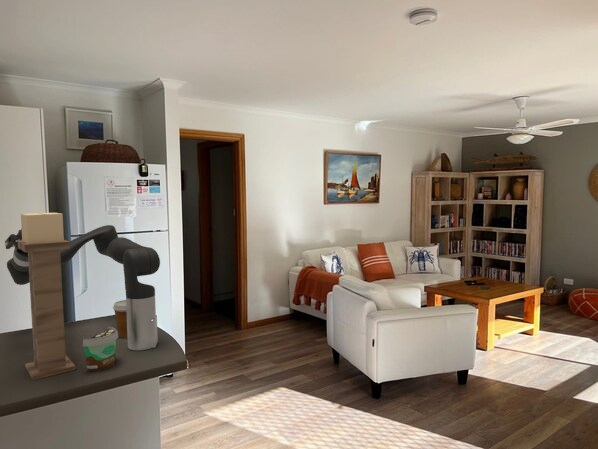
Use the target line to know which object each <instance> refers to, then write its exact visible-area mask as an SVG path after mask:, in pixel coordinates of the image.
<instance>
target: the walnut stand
mask: <svg viewBox="0 0 598 449" xmlns="http://www.w3.org/2000/svg"><path fill="white" fill-rule="evenodd" d="M17 241H18V240H17ZM18 248H19V249H21V250H22V251H24V252H28V263H29V280H30V282H29V293H30V312H31V326H32V327H31V329H32V344H33V345H32V346H33V348H32V350H33V361H31V362H26V363H24V367H25V369H26V371H27V373H28V374H29V376H30V378H31V379H32V381H34V380H39V379H43V378H47V377H50V376H55V375H59V374H64V373H66V372H71V371H75V370H76V369H77V367H76V365H75V363H74V362H73V361H72V360H71V359H70V358H69V357H68V356H67V355H66V340H65V338H66V336H65V335H66V334H65V319H64V316H65V314H64V301H63V300H64V299H63V283H62V282H63V280H62V277H63V276H62V265H61V257H60V249H70V241H69V240H65V239H64V241H62V242H49V243H36V244H27V243H25V242H23V241H18Z"/></svg>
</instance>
